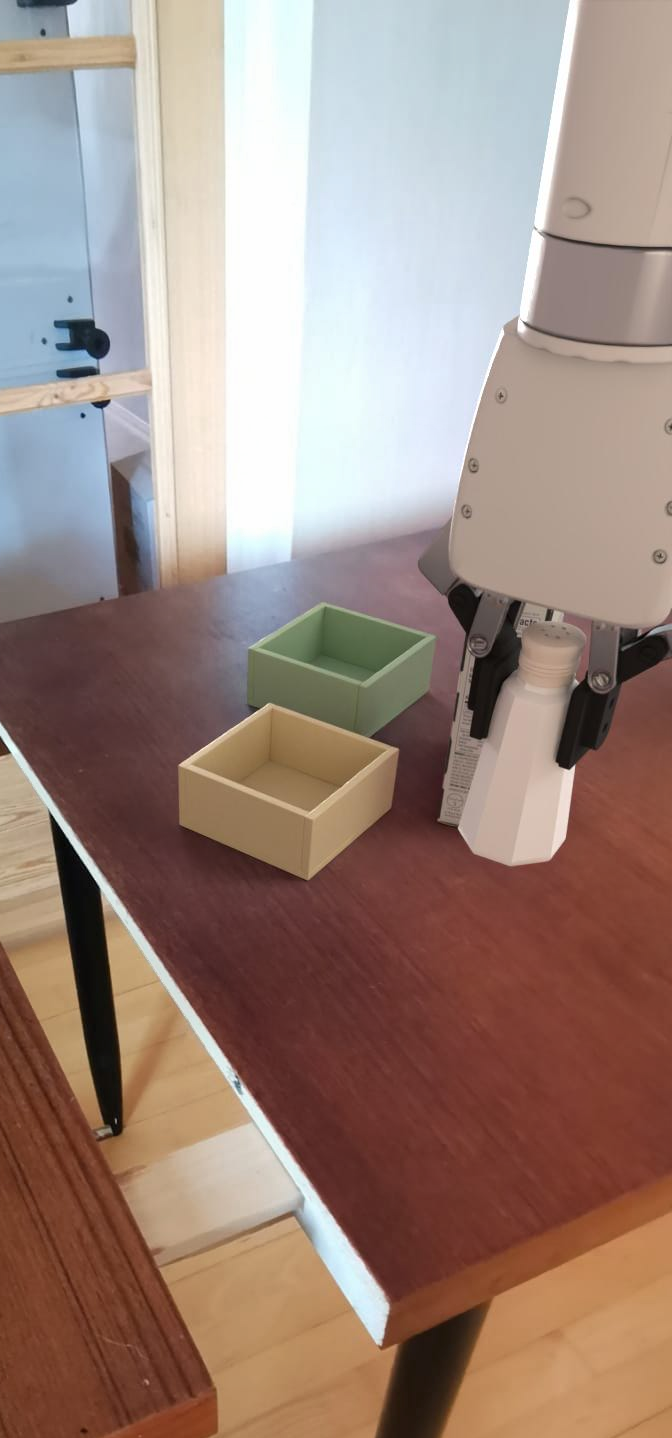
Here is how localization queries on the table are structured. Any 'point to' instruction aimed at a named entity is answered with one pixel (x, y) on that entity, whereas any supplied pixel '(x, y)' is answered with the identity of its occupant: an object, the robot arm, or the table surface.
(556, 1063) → the table surface
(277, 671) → the green bin
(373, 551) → the table surface
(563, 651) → the pepper shaker
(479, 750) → the candy bar box
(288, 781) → the cream bin
